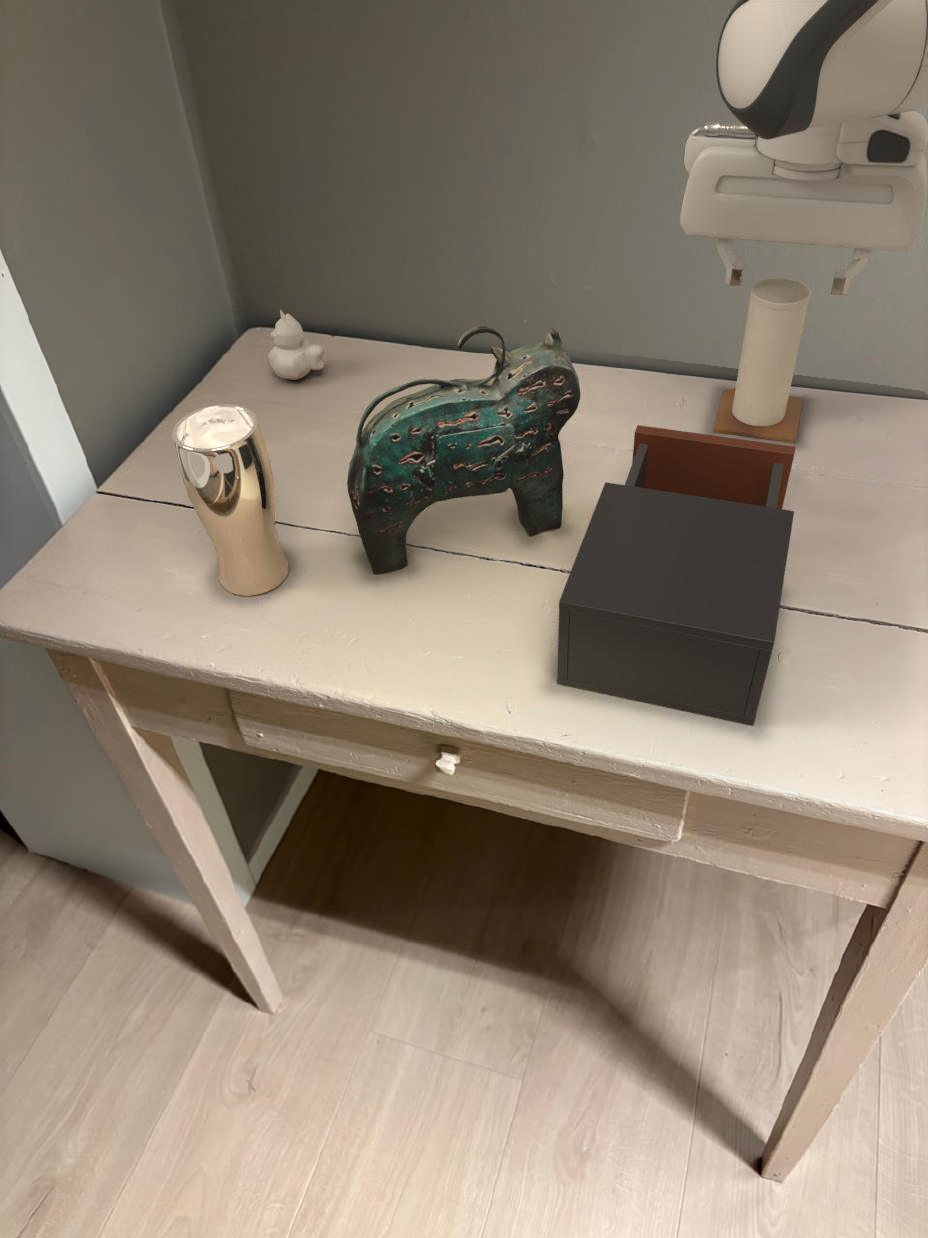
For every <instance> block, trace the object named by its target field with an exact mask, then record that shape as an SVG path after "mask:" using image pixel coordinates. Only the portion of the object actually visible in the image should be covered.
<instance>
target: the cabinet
mask: <svg viewBox="0 0 928 1238" xmlns="http://www.w3.org/2000/svg"><path fill="white" fill-rule="evenodd" d="M794 516H795V511H794V510H788V509H783V508H782V509H777V508H770V507H764V506H757V505H751V504H744V503H738V502H731V501H725V500H718V499H711V498H705V497H698V496H692V495H685V494H679V493H672V492H666V491H659V490H653V489H646V488H640V487H633V486H627V485H625V484H619V483H612V482H605V483H604V484H603V487H602V489H601V493H600V496H599V498H598V500H597V502H596V506H595V507H594V510H593V513H592V516H591V518H590V521H589V523H588V527H586V528H587V529H586V531H585V533H584V536H583V539H582V541H581V544H580V547H579V548H578V551H577V555H576V557H575V559H574V562H573V564H572V567H571V570H570V572H569V575H568V577H567V579H566V583H565V585H564V588H563V589H562V590H563V591H562V593H561V596H560V597H559V601H558V627H557V628H558V629H557V630H558V631H557V632H558V633H557V668H556V669H557V670H556V671H557V674H556V676H557V677H556V684H557V685H561V686H565V687H569V688H573V689H574V688H575V689H579V690H583V691H587V692H594V693H598V694H603V695H606V696H611V697H612V696H613V697H618V698H620V699H621V698H622V699H626V700H631V701H634V702H635V701H636V702H641V703H645V704H649V705H654V706H659V707H664V708H667V709H674V710H678V711H682V712H687V713H691V714H692V713H693V714H697V715H701V716H707V717H712V718H715V719H721V720H725V721H728V722H729V721H730V722H734V723H738V724H739V723H740V724H743V725H748V726H754V725H755V722H756V717H757V713H758V711H759V705H760V702H761V698H762V693H763V689H764V685H765V681H766V678H767V673H768V670H769V666H770V661H771V657H772V653H773V650H774V645H775V642H776V641H775V640H776V633H777V626H778V619H779V613H780V609H781V608H780V607H781V600H782V595H783V587H784V581H785V574H786V569H787V562H788V561H787V560H788V555H789V549H790V541H791V535H792V528H793V521H794Z"/></svg>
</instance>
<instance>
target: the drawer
mask: <svg viewBox="0 0 928 1238" xmlns="http://www.w3.org/2000/svg"><path fill="white" fill-rule="evenodd" d="M633 437H634V438H633V448H632V461H631V466H630V469H629V471H628V474H627V477H626V479H625V482H624V485H627V486H633V487H640V488H646V489H653V490H659V491H666V492H672V493H679V494H685V495H692V496H698V497H705V498H711V499H718V500H725V501H731V502H738V503H744V504H751V505H757V506H764V507H770V508H777V509H783V508H784V503H785V499H786V494H787V489H788V484H789V479H790V476H791V472H792V467H793V464H794V460H795V454H796V446H794V445H787V444H779V443H773V442H766V441H758V440H757V441H756V440H750V439H743V438H735V437H727V436H720V435H715V434H714V435H713V434H708V433H707V434H705V433H699V432H690V431H683V430H676V429H670V428H662V427H654V426H647V425H641V424H638V425H637V426H636V428H635V430H634V436H633Z"/></svg>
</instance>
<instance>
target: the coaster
mask: <svg viewBox="0 0 928 1238" xmlns="http://www.w3.org/2000/svg"><path fill="white" fill-rule="evenodd" d="M735 389H736V388H735ZM735 389H734V388H728V387H724V388H723V392H722V395H721V400H720V403H719V407H718V411H717V414H716V418H715V422H714V425H713V429H712V432H713V433H720V434H728V435H736V436H742V437H749V438H750V437H751V438H756V439H757V438H758V439H764V440H771V441H779V442H787V443H794V444H795V443H797V438H798V431H799V425H800V419H801V414H802V408H803V406H802V405H803V401H804V397H800V396H792V395H789V397H788V402H787V407H786V412H785V416H784V418H783V420H782V421H780V422H779V423H777V424H775V425H771V426H752V425H748V424H745V423H743V422H741V421H739V420H738V419H736V418H735V417H734V415H733V413H732V407H733V401H734V395H735Z"/></svg>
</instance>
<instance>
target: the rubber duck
mask: <svg viewBox="0 0 928 1238" xmlns="http://www.w3.org/2000/svg"><path fill="white" fill-rule="evenodd" d="M279 313H280V319H278V321H276V323H275V326H274V330H272V331H271V332H270V337H271V338H272V339H273V343H274V344H275V345H274V347H272V349H271V350H270V352H269V353H268V354H267V355H268V356H267V357H268V362H269V365H270V367H271V368H272V370H273V372H274V373H275V374H276V375H277V376H278V377H279V378H281V379H284V380H291V381H293V380H295V381H296V380H301V379H302V378H305V376H307V375H308V374H309V373H310V372H311V371H312V370H313V371H318V370H322V369H323V368H324V367H325V362H324V358H323V357H324V354H325V349H324V346H322V345H320V344H312V343H311V341H310V340H309V339H305V332H304V330H303V327H302V325H301V323H300V322H299V321H298V320H297V319H295V317H293V316H292V314H290V313H286V314H285V313H284V311H283V310H282V309H281V308H279Z"/></svg>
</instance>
